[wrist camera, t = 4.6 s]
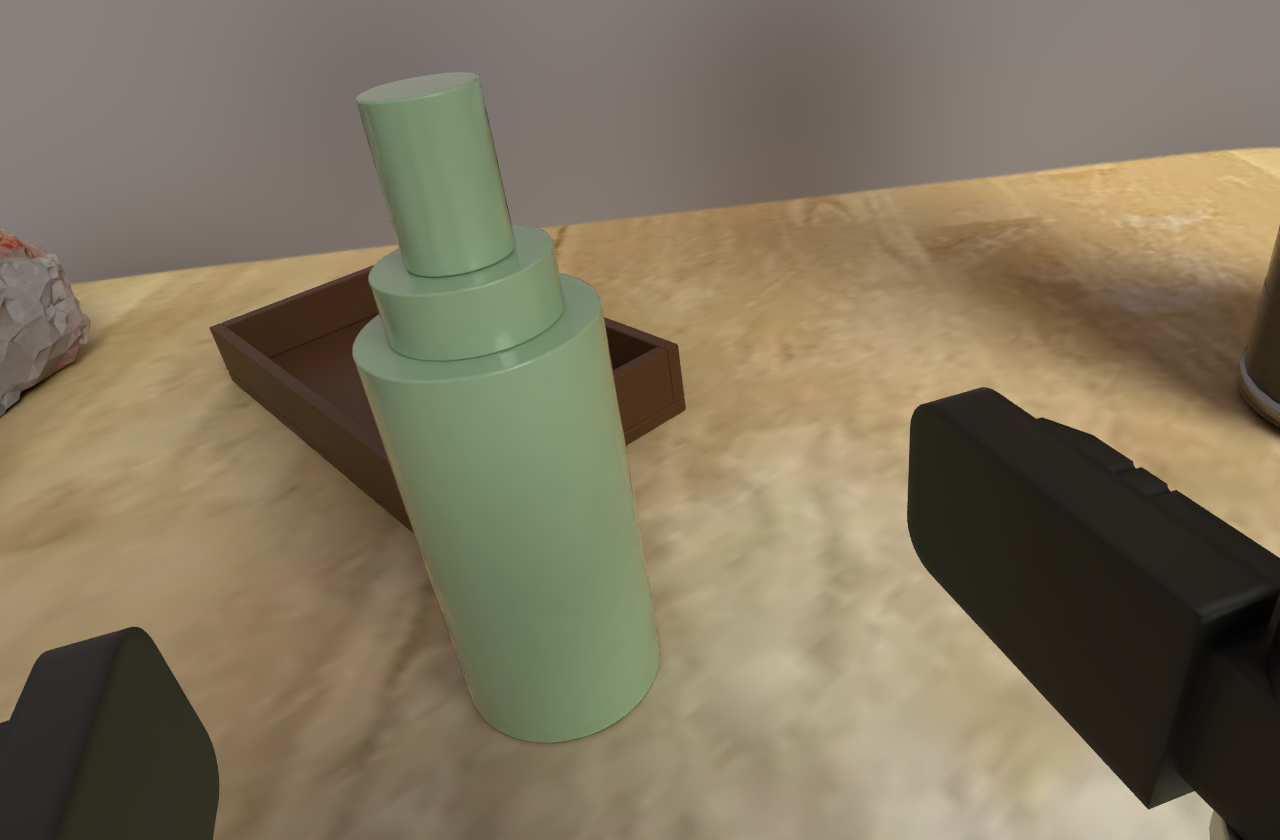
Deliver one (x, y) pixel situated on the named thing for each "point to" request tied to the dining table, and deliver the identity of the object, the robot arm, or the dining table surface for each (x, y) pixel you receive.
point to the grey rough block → (34, 318)
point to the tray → (335, 398)
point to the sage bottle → (502, 428)
